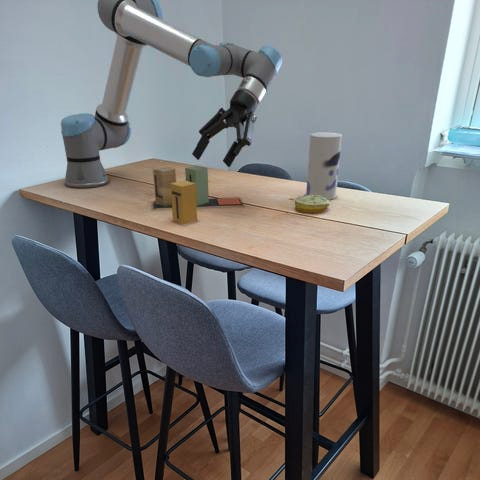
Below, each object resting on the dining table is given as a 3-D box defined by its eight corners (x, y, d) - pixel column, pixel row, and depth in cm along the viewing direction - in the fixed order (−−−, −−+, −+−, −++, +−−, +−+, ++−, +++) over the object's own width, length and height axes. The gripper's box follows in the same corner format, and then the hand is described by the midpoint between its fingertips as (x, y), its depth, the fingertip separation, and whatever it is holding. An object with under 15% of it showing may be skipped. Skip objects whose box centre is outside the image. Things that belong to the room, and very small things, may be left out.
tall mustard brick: (172, 221, 136) (169, 183, 130) (186, 217, 139) (184, 180, 134) (183, 225, 133) (181, 186, 127) (197, 221, 136) (195, 183, 130)
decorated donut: (335, 209, 147) (336, 197, 145) (315, 216, 140) (316, 204, 138) (307, 202, 153) (308, 190, 151) (287, 209, 146) (288, 197, 144)
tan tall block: (155, 203, 150) (152, 168, 144) (168, 200, 153) (165, 166, 148) (164, 207, 147) (161, 171, 141) (177, 203, 150) (175, 168, 144)
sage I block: (186, 202, 151) (184, 167, 146) (198, 199, 154) (197, 165, 149) (196, 206, 148) (195, 170, 142) (208, 202, 151) (207, 167, 146)
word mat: (153, 210, 146) (153, 207, 146) (154, 202, 154) (154, 199, 153) (242, 206, 149) (242, 204, 149) (239, 199, 157) (239, 196, 156)
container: (328, 202, 154) (335, 137, 144) (301, 197, 158) (305, 134, 148) (340, 195, 161) (346, 133, 151) (313, 191, 165) (318, 130, 155)
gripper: (211, 86, 140) (175, 146, 139) (272, 91, 125) (232, 158, 124) (225, 104, 146) (191, 161, 145) (285, 110, 131) (247, 175, 130)
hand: (210, 160), depth 134 cm, fingers open, 13 cm apart
